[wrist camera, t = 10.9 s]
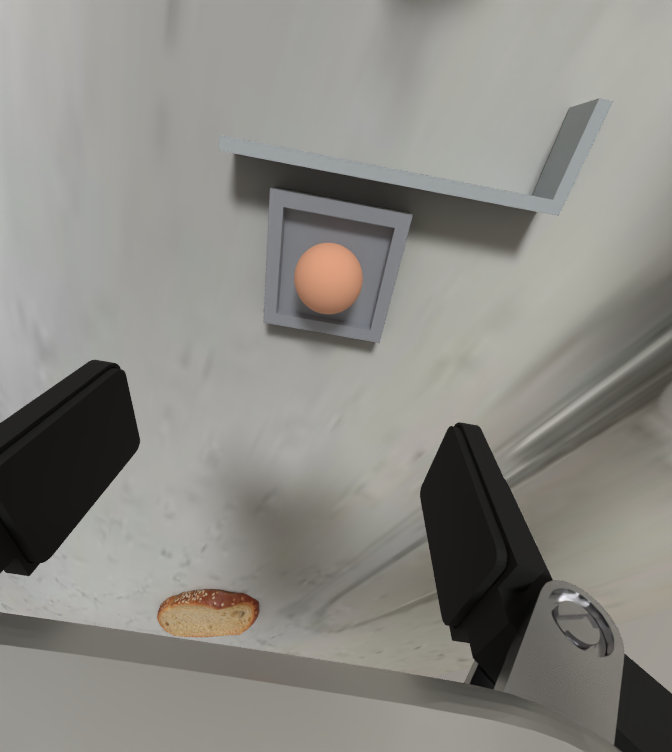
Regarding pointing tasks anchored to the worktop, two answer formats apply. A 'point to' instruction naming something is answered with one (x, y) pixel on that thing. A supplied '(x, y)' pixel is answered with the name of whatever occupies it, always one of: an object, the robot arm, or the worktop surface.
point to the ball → (328, 278)
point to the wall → (545, 199)
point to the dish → (341, 226)
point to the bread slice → (208, 613)
